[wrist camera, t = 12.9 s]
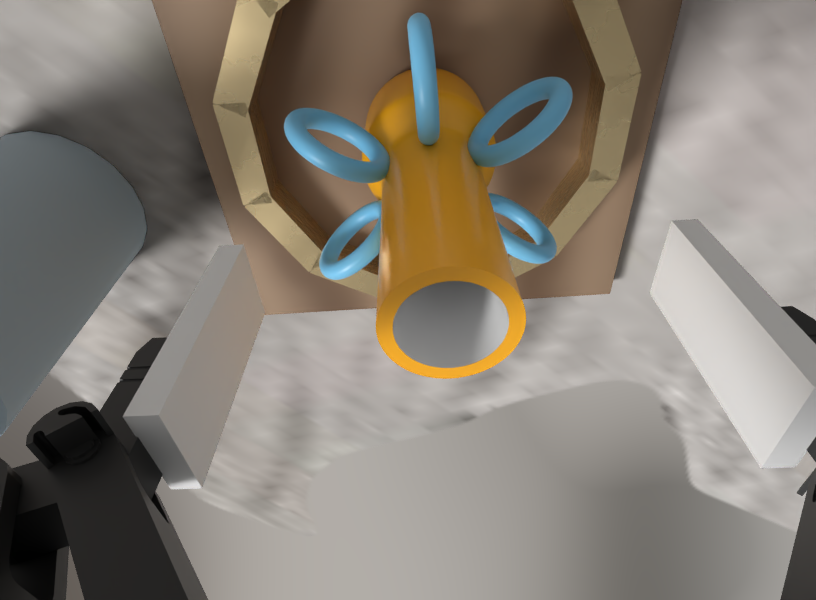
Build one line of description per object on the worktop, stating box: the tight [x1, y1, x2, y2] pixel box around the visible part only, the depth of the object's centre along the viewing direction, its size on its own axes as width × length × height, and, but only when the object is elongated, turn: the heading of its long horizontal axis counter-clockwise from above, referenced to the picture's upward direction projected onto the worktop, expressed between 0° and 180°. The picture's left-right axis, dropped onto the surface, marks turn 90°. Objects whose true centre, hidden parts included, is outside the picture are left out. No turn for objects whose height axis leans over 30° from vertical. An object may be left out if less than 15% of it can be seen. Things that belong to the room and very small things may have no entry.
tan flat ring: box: [213, 0, 641, 297], centre depth 24 cm, size 19×19×2 cm
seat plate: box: [152, 0, 682, 315], centre depth 25 cm, size 23×23×1 cm
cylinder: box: [284, 13, 573, 379], centre depth 19 cm, size 12×10×15 cm
